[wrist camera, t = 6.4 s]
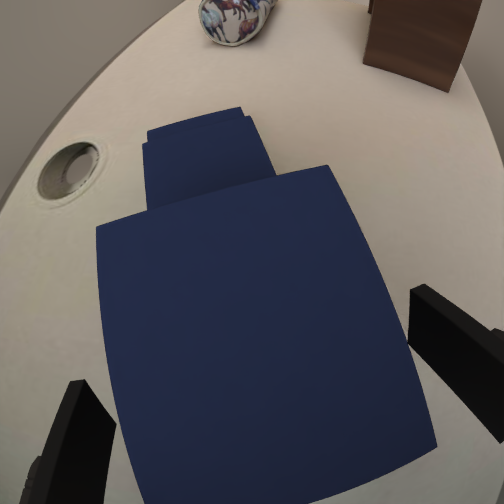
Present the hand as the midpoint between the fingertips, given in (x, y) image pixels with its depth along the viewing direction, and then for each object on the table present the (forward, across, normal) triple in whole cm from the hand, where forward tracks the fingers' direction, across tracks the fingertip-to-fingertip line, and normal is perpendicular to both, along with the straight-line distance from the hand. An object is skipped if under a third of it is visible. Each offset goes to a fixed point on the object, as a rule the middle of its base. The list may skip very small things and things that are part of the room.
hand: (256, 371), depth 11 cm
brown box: (+31, +35, +20) cm, 51 cm away
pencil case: (+39, +12, +28) cm, 49 cm away
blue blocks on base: (+10, 0, -1) cm, 11 cm away
